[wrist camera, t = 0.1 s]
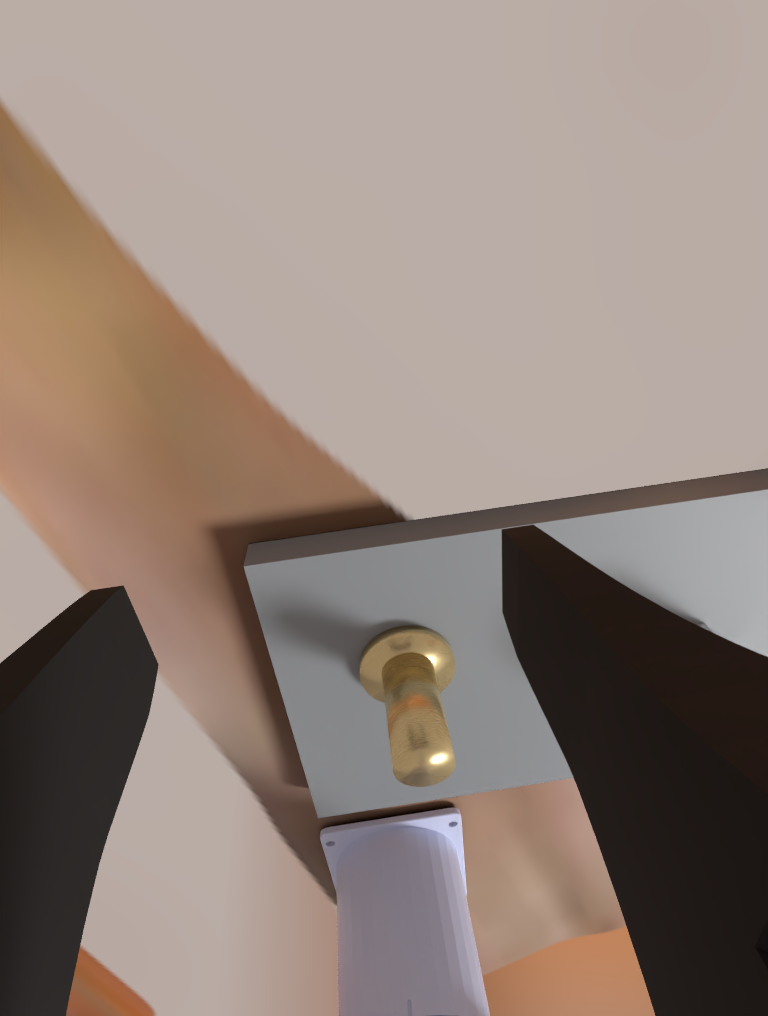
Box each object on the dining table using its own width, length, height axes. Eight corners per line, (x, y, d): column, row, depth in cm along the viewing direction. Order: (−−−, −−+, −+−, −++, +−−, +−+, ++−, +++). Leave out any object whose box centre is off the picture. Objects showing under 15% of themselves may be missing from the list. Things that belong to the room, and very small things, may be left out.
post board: (735, 725, 30) (830, 846, 24) (318, 790, 29) (316, 930, 24) (817, 461, 22) (985, 551, 16) (248, 544, 22) (221, 666, 16)
